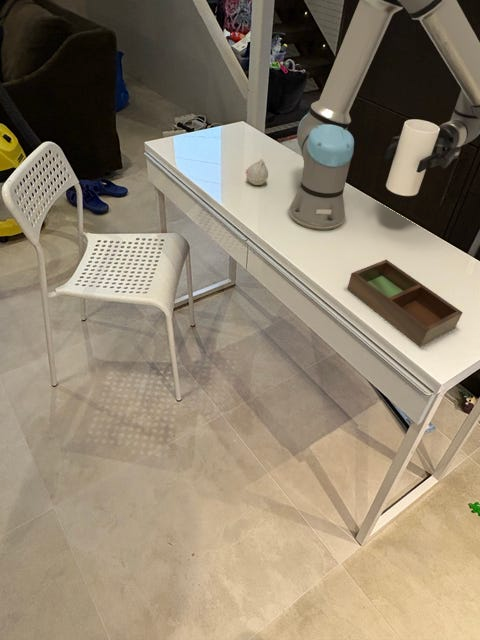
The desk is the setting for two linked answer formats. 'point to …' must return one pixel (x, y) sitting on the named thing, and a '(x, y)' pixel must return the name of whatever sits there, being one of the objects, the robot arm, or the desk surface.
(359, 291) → the holder
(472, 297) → the desk surface
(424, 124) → the cup
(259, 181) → the garlic bulb
